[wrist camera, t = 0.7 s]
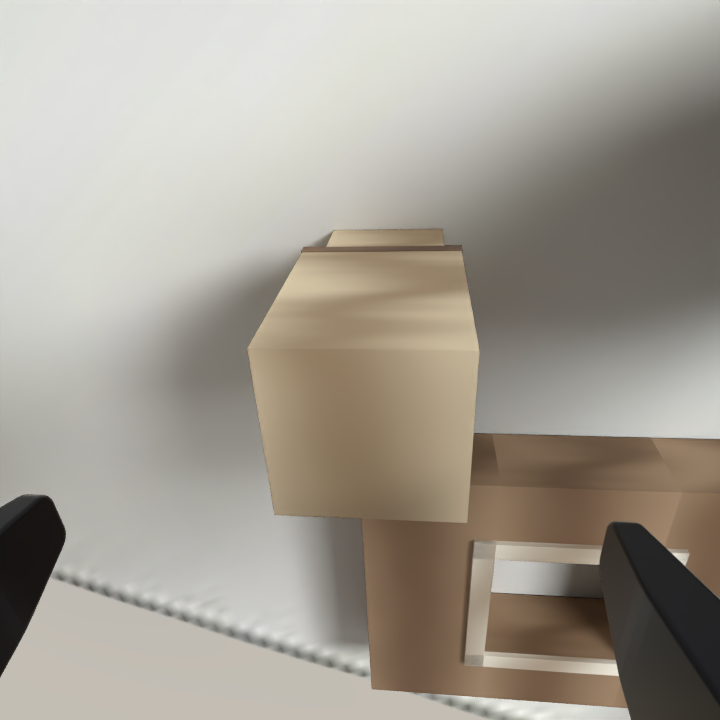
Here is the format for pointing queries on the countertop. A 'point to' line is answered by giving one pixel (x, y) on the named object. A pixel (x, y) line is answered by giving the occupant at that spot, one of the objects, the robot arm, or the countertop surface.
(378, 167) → the countertop surface
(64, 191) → the countertop surface
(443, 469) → the peg
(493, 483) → the board
